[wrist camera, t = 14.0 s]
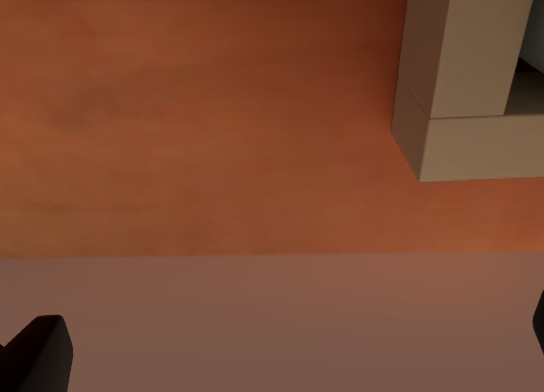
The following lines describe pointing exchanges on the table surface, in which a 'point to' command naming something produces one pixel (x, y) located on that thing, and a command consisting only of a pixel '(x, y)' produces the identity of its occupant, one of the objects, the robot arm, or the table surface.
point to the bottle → (534, 37)
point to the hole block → (468, 92)
